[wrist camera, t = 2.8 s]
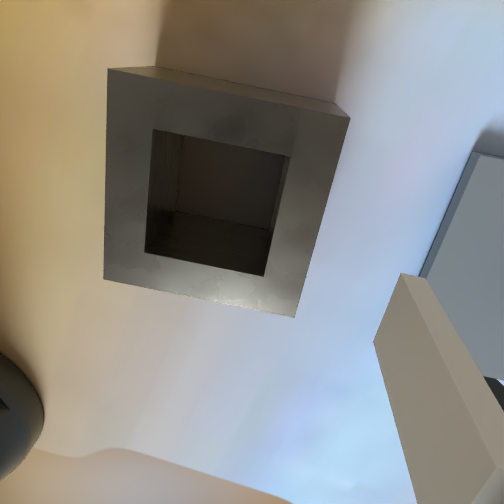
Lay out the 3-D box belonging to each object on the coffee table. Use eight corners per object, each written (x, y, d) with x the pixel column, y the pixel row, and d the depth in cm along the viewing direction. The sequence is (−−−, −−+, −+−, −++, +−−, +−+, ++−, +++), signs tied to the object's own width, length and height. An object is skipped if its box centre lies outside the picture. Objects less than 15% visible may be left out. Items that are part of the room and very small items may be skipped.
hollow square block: (142, 233, 26) (103, 279, 21) (153, 66, 22) (107, 68, 16) (293, 264, 26) (294, 317, 21) (335, 103, 22) (350, 117, 16)
